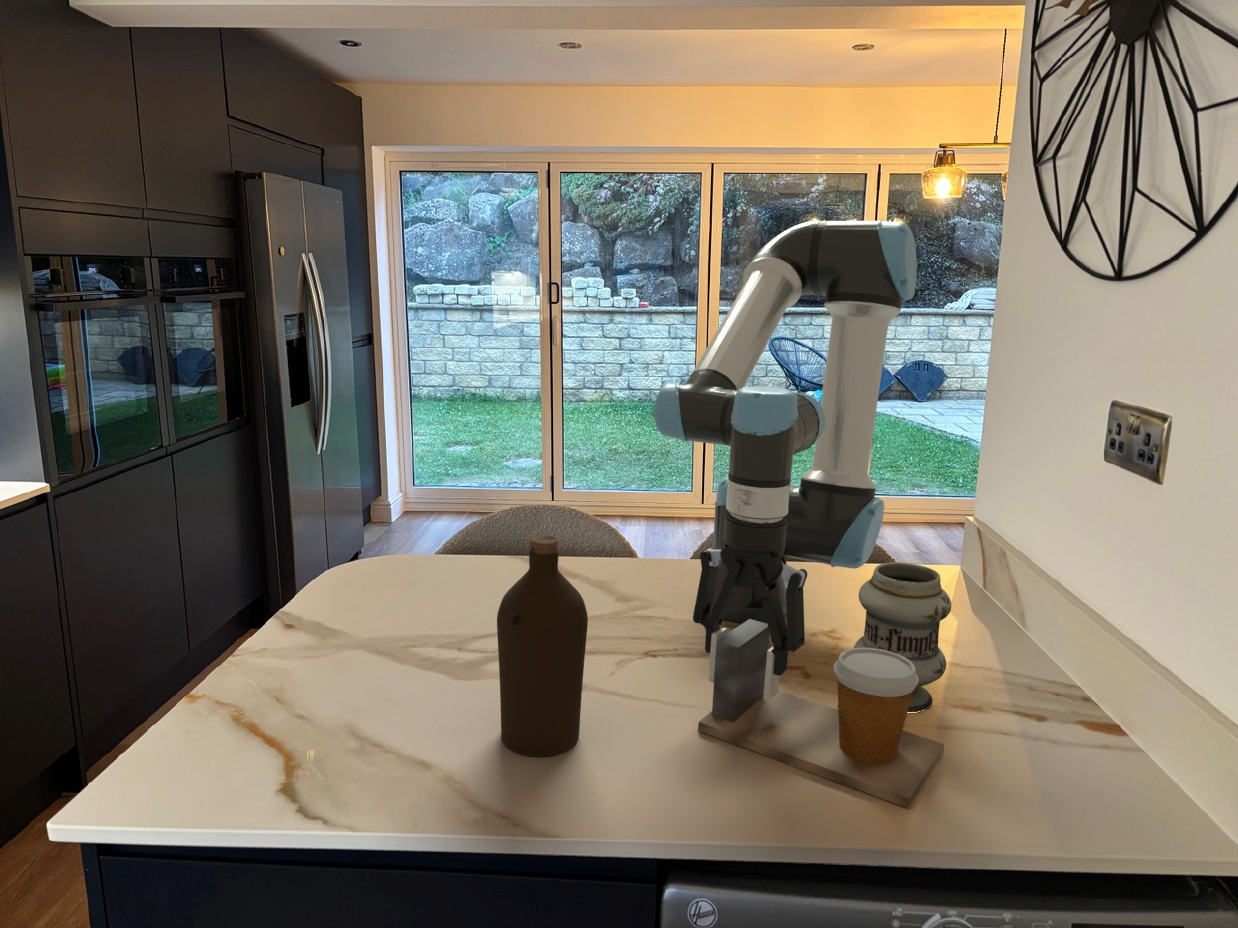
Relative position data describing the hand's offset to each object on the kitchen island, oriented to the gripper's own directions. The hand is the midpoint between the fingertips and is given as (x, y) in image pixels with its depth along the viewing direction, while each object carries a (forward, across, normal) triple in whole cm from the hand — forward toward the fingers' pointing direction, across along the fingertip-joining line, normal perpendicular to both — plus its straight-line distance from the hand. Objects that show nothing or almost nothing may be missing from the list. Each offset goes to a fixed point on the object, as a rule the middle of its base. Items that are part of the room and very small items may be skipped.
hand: (742, 686), depth 112 cm
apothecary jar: (+4, +14, +18) cm, 23 cm away
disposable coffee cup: (+4, +17, 0) cm, 17 cm away
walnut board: (+4, +11, 0) cm, 11 cm away
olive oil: (+4, -17, -20) cm, 26 cm away
